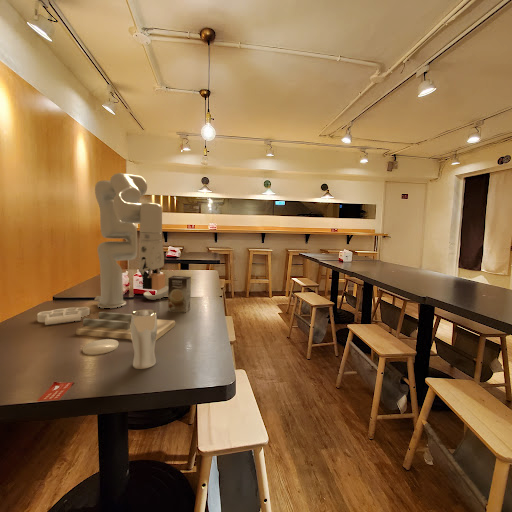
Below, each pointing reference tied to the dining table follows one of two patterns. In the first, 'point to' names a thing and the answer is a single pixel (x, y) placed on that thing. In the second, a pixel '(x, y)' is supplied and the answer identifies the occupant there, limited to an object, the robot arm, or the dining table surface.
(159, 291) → the spoon rest
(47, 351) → the dining table surface
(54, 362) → the dining table surface
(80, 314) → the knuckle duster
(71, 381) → the dining table surface
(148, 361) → the beer glass
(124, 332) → the board
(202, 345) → the dining table surface
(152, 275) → the block
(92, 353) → the coaster
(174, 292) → the coffee box
